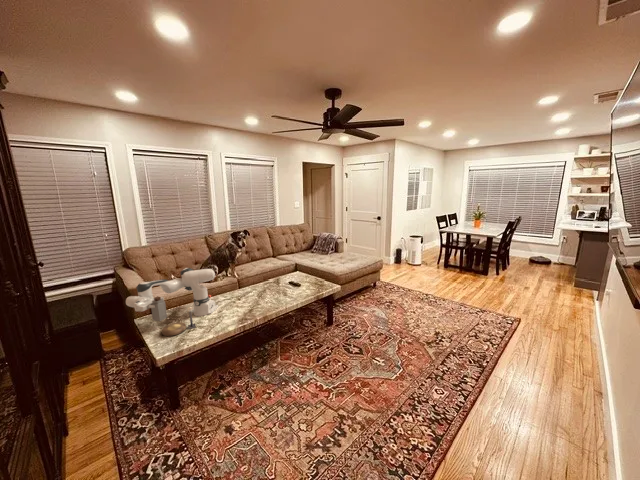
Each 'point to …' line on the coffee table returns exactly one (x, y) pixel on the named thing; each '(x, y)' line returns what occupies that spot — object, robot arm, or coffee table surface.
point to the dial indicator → (190, 310)
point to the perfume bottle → (158, 309)
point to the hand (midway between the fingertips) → (159, 304)
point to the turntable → (174, 329)
